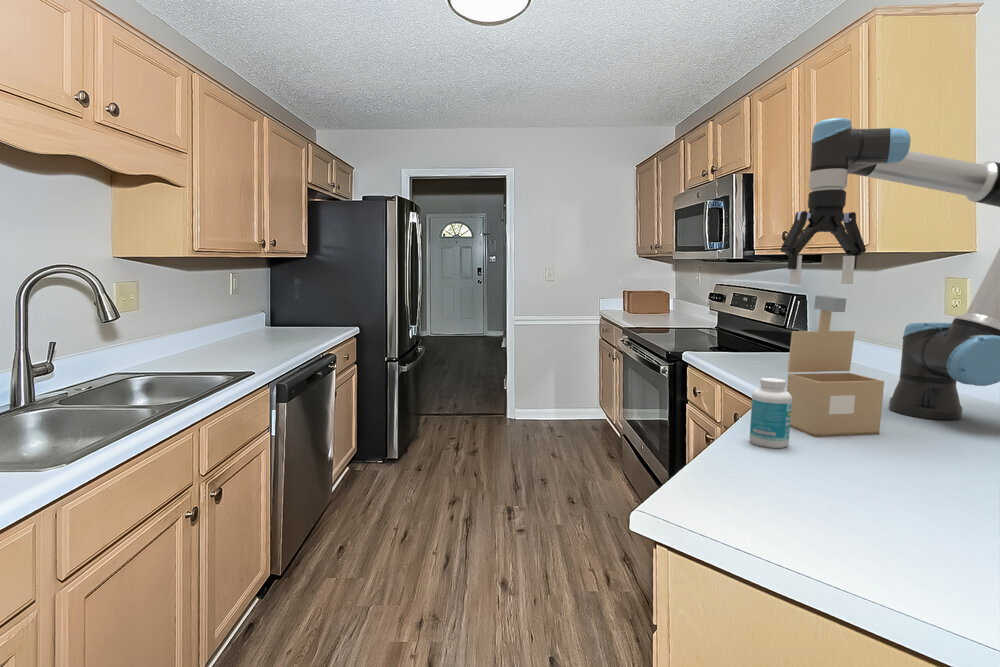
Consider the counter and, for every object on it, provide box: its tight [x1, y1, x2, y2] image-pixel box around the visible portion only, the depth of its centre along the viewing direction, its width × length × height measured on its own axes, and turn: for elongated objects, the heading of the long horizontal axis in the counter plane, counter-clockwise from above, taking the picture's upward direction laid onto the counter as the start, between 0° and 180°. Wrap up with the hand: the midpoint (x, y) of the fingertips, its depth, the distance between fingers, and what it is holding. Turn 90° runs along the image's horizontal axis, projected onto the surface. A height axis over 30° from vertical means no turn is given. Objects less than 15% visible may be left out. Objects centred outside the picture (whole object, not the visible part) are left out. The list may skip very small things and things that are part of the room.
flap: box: [787, 295, 856, 373], centre depth 132 cm, size 16×18×6 cm
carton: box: [786, 372, 885, 438], centre depth 130 cm, size 16×10×12 cm, turn 100°
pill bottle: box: [749, 377, 792, 449], centre depth 119 cm, size 8×7×14 cm
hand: (821, 284), depth 134 cm, fingers open, 13 cm apart
